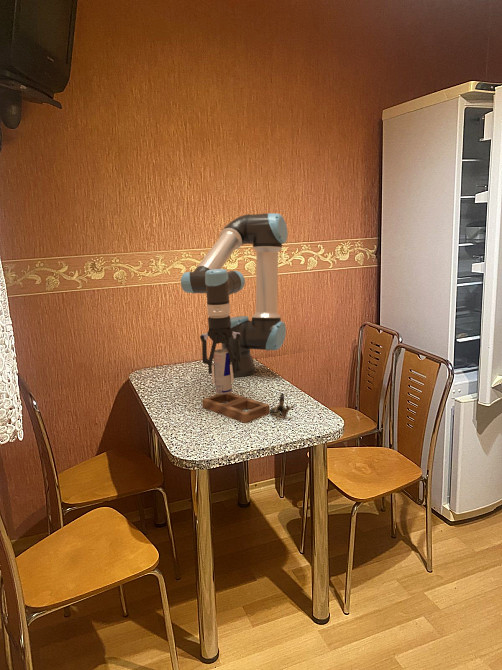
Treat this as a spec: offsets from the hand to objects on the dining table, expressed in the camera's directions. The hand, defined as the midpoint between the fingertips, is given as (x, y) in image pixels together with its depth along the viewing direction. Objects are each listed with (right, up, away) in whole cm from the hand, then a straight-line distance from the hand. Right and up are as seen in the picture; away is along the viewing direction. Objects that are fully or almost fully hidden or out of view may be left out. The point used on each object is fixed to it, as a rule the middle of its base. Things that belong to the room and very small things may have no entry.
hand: (223, 381), depth 191 cm
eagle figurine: (+20, -10, -7) cm, 23 cm away
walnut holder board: (+4, -10, -2) cm, 11 cm away
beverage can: (0, -4, +1) cm, 4 cm away
